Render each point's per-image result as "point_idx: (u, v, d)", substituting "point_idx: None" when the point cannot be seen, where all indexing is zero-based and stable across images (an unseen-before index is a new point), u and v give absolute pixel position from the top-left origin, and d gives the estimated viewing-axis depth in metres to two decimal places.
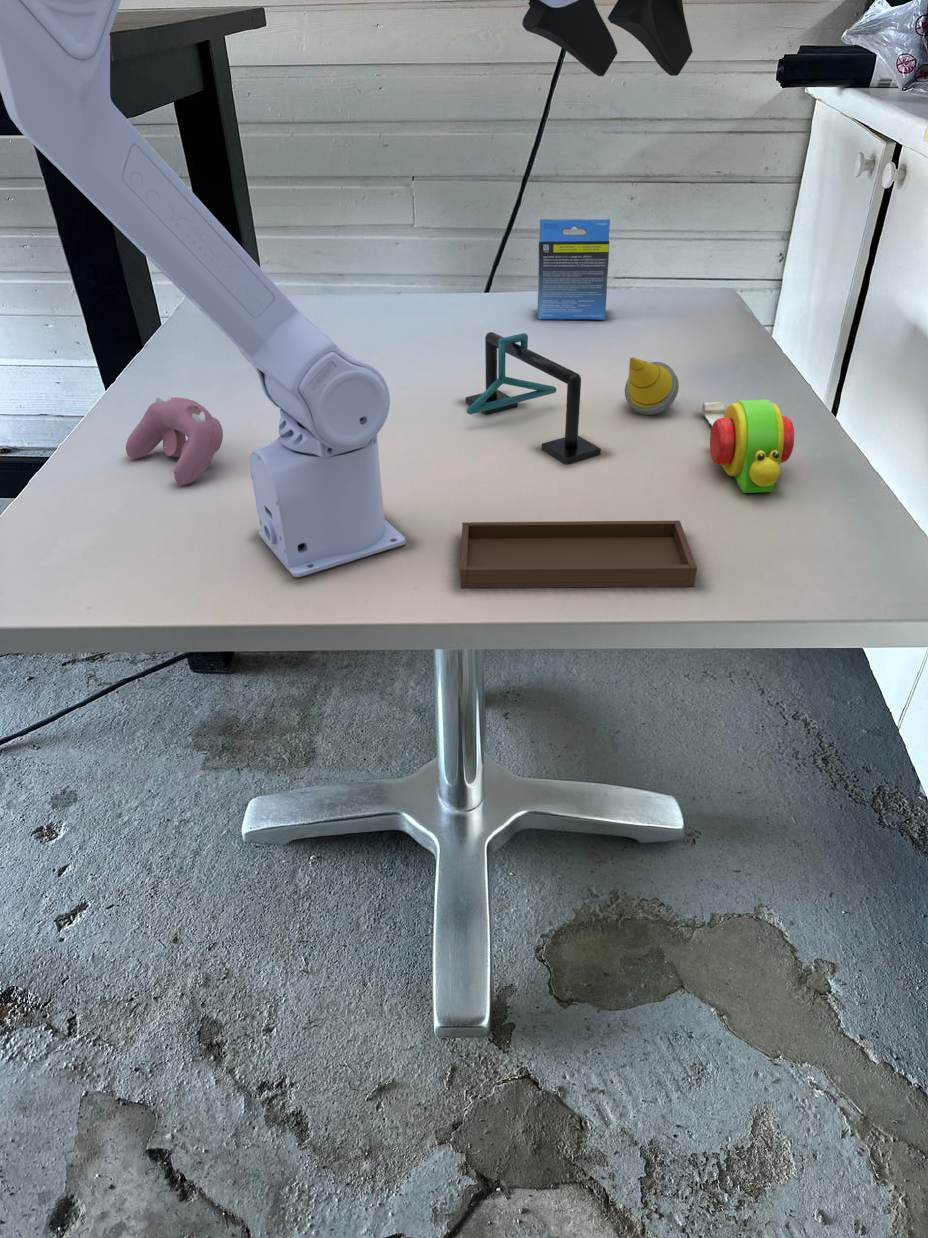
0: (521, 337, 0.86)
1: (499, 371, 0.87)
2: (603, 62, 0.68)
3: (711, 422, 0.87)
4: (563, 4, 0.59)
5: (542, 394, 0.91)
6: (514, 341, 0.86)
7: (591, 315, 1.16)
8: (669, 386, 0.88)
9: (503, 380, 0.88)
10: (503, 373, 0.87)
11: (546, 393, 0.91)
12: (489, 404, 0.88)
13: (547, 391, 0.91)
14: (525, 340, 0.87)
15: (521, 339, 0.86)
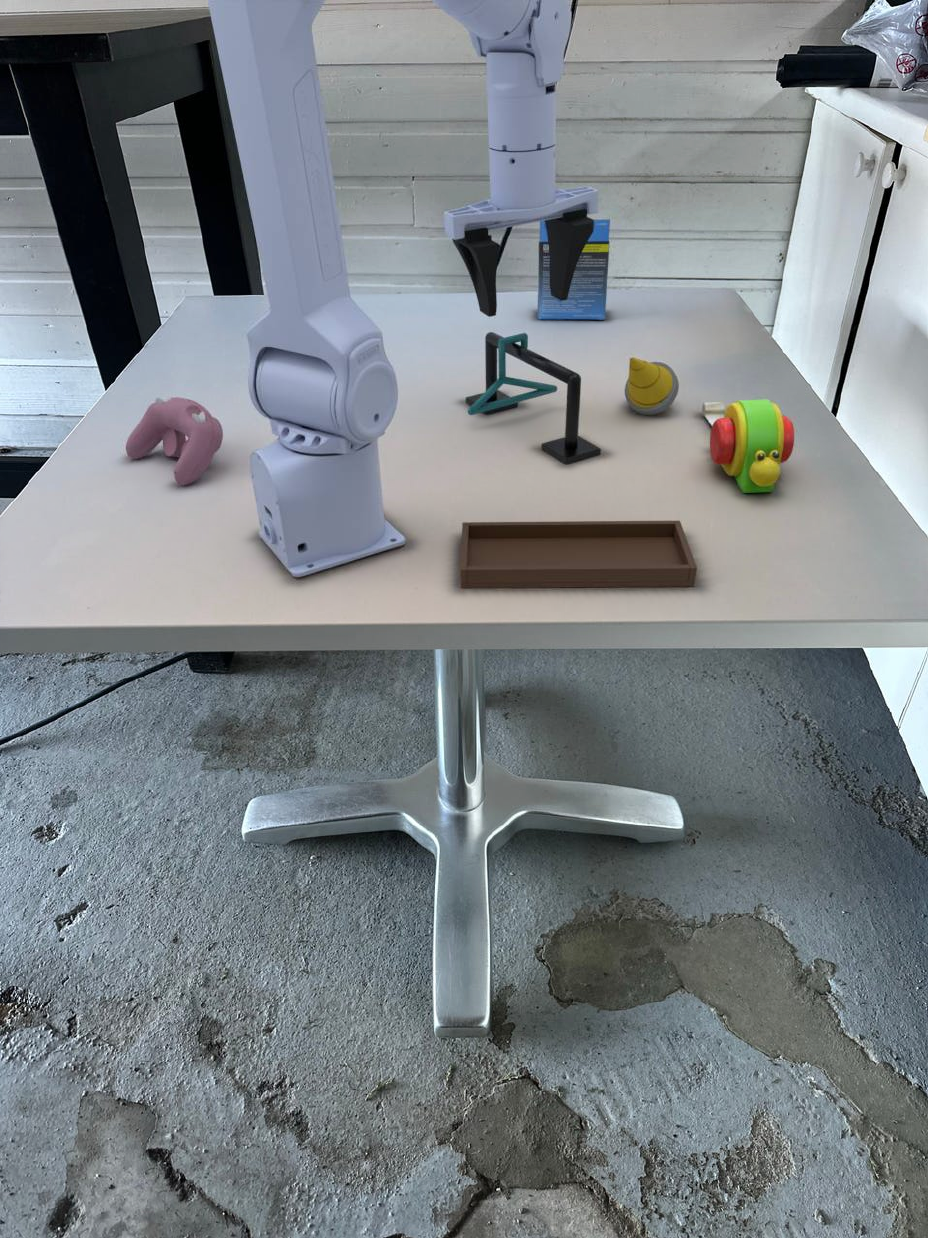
0: (521, 337, 0.86)
1: (499, 371, 0.87)
2: None
3: (711, 422, 0.87)
4: (546, 213, 0.77)
5: (543, 393, 0.91)
6: (514, 341, 0.86)
7: (591, 315, 1.16)
8: (669, 386, 0.88)
9: (504, 380, 0.88)
10: (503, 373, 0.87)
11: (547, 392, 0.91)
12: (490, 404, 0.88)
13: (548, 390, 0.91)
14: (525, 340, 0.87)
15: (521, 339, 0.86)
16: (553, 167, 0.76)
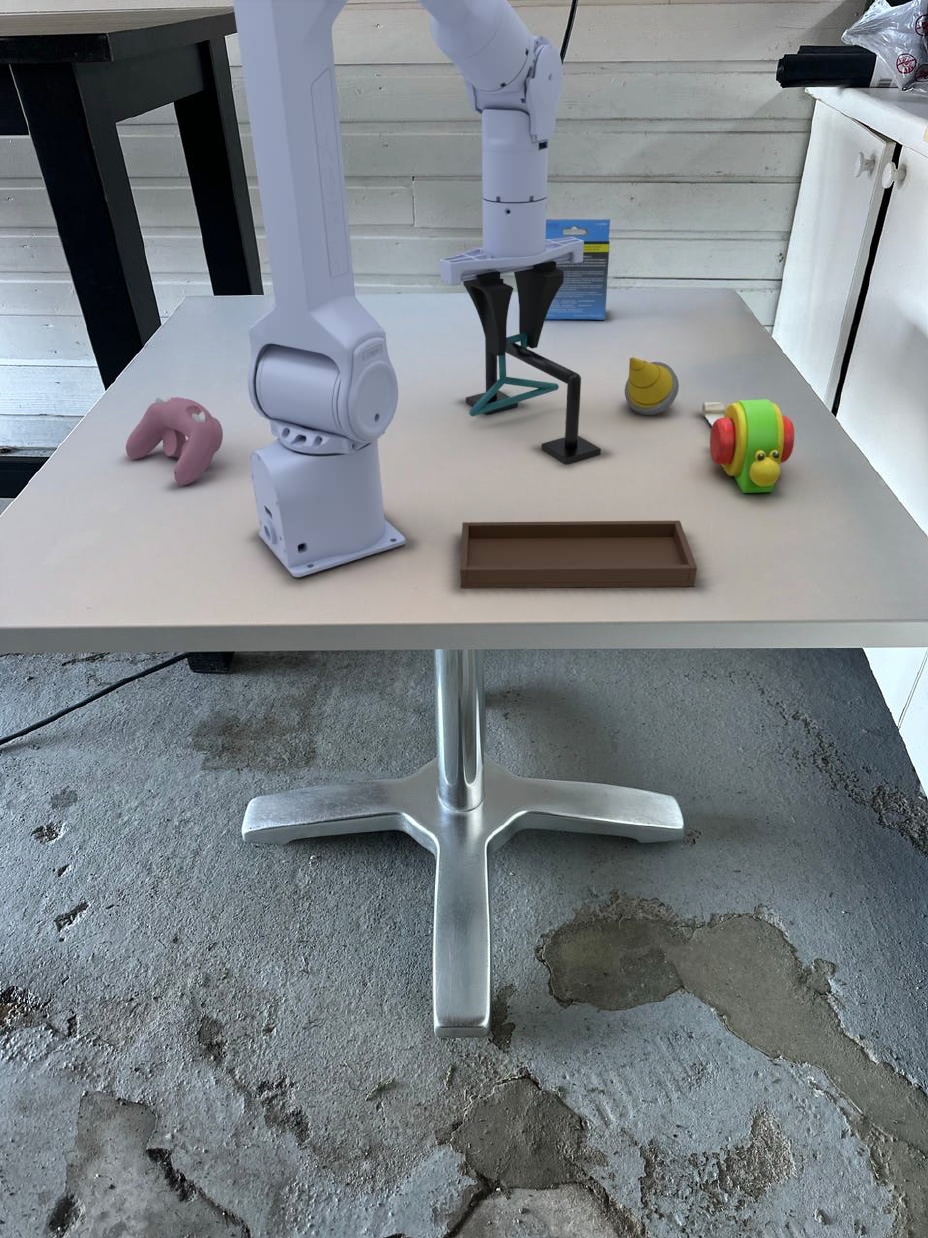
0: (521, 337, 0.86)
1: (500, 372, 0.87)
2: None
3: (711, 422, 0.87)
4: (538, 261, 0.80)
5: (544, 392, 0.91)
6: (514, 341, 0.86)
7: (591, 315, 1.16)
8: (669, 386, 0.88)
9: (504, 380, 0.88)
10: (504, 373, 0.87)
11: (548, 391, 0.91)
12: (491, 405, 0.89)
13: (549, 389, 0.91)
14: (525, 339, 0.87)
15: (521, 339, 0.86)
16: (545, 218, 0.79)
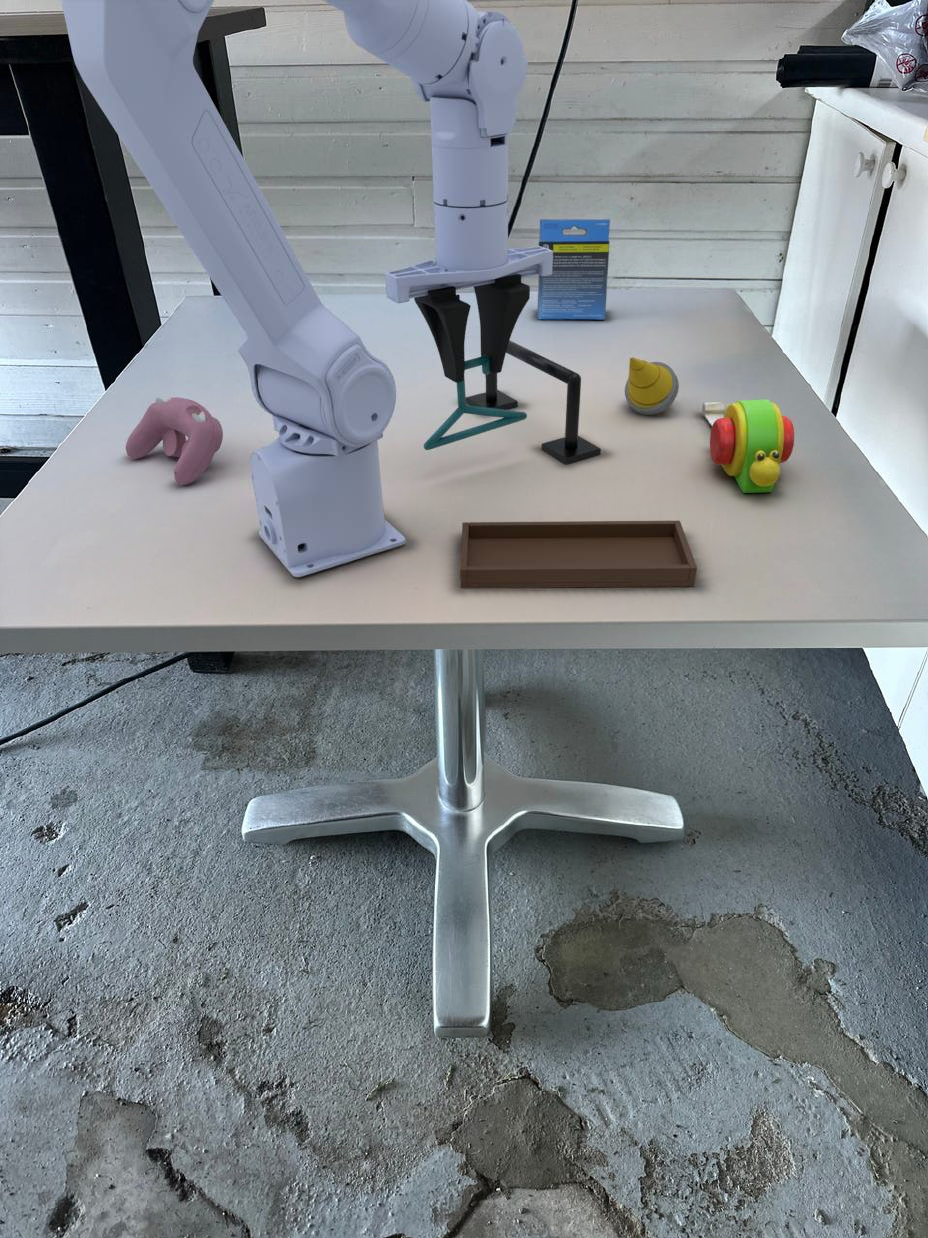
0: (482, 360, 0.75)
1: (459, 400, 0.76)
2: None
3: (711, 422, 0.87)
4: (499, 275, 0.69)
5: (510, 422, 0.80)
6: (474, 365, 0.75)
7: (591, 315, 1.16)
8: (669, 386, 0.88)
9: (464, 410, 0.77)
10: (463, 402, 0.76)
11: (515, 420, 0.80)
12: (449, 437, 0.78)
13: (516, 418, 0.80)
14: (487, 363, 0.76)
15: (482, 363, 0.75)
16: (506, 225, 0.68)
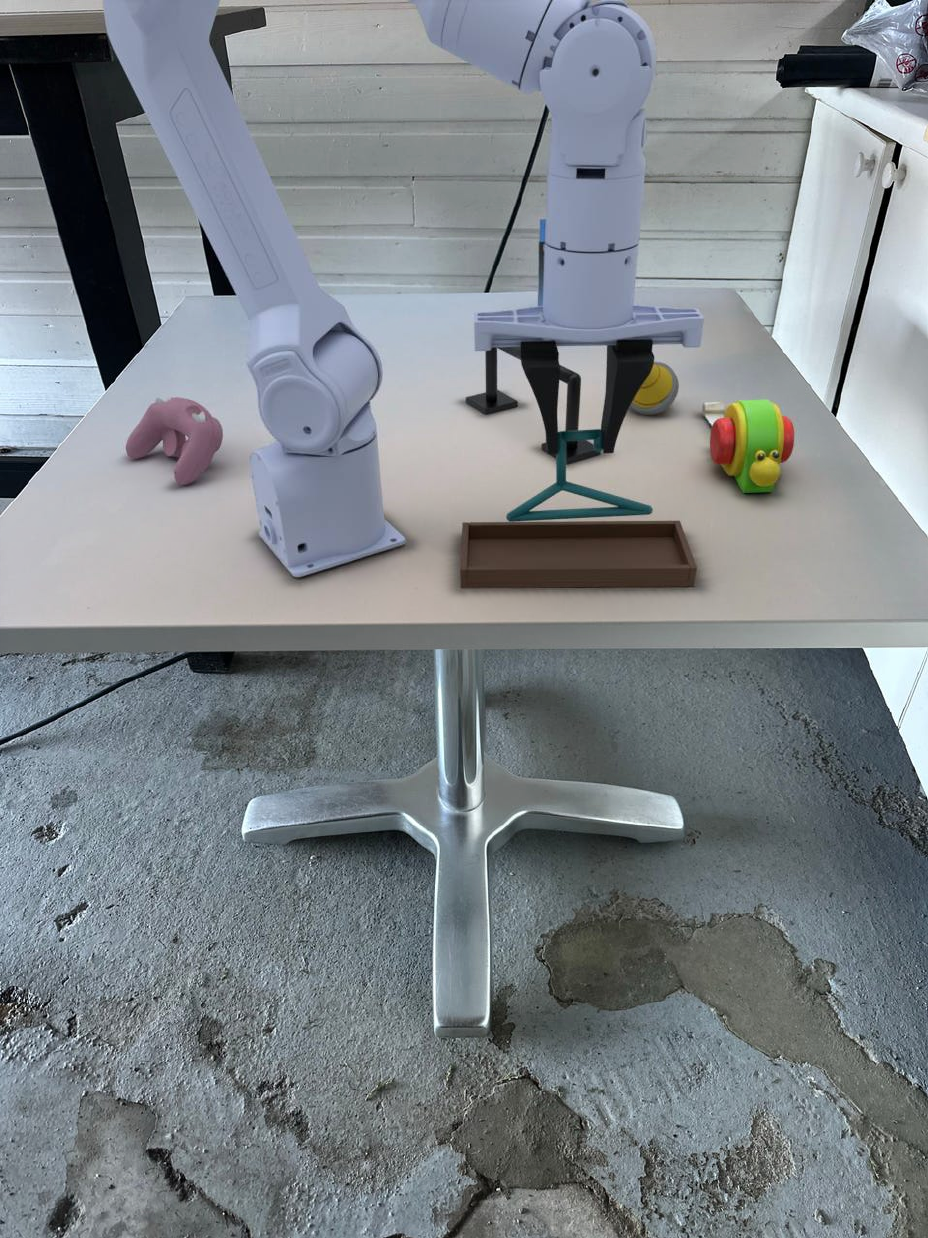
0: (591, 434, 0.61)
1: (556, 474, 0.63)
2: None
3: (711, 422, 0.87)
4: (602, 338, 0.55)
5: (626, 513, 0.65)
6: (579, 438, 0.62)
7: None
8: (669, 386, 0.88)
9: (561, 486, 0.64)
10: (561, 477, 0.63)
11: (633, 513, 0.65)
12: (539, 513, 0.65)
13: (635, 511, 0.65)
14: (598, 439, 0.62)
15: (591, 437, 0.62)
16: (624, 278, 0.54)
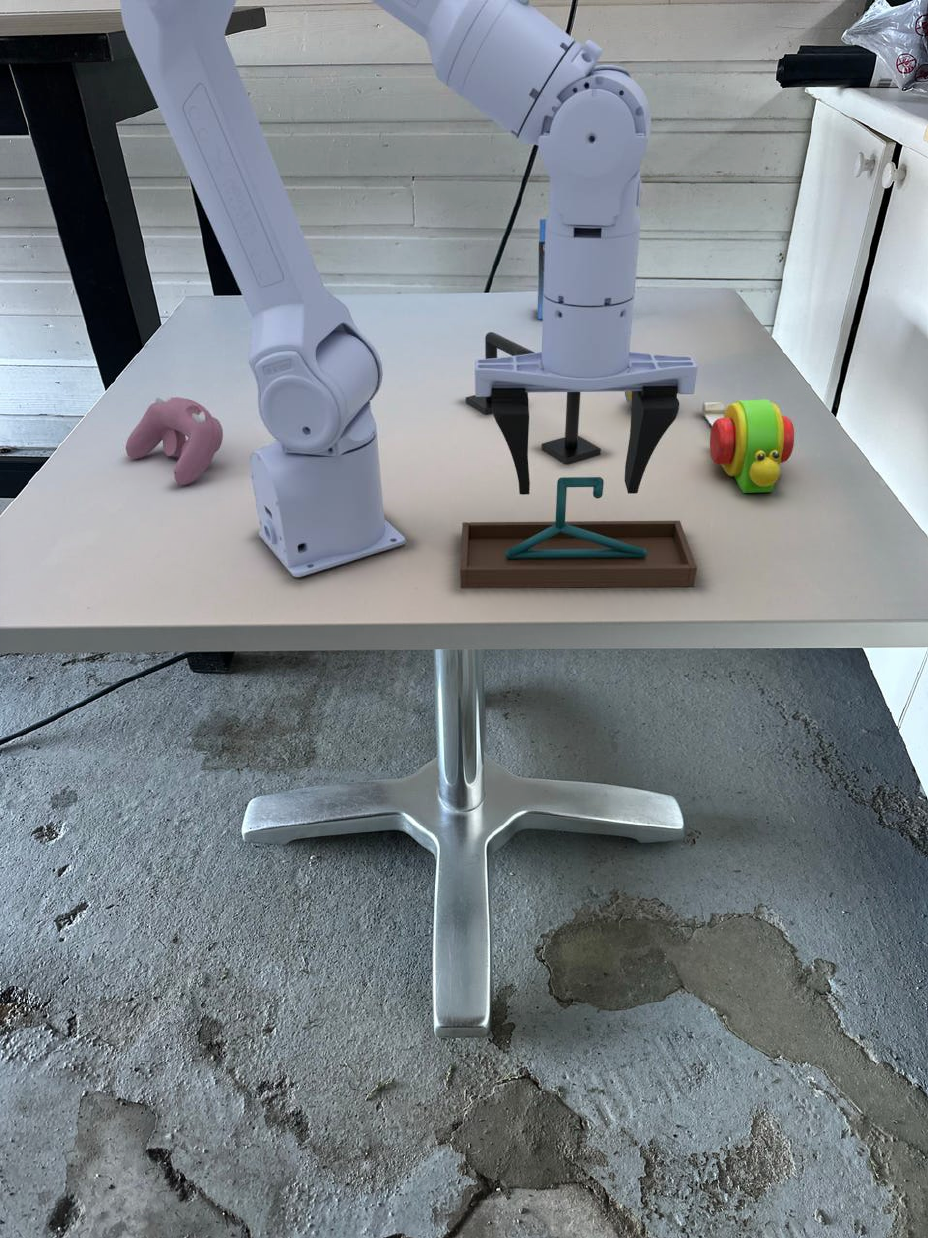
0: (591, 482, 0.63)
1: (556, 517, 0.65)
2: None
3: (711, 422, 0.87)
4: (598, 387, 0.57)
5: (621, 556, 0.67)
6: (580, 485, 0.63)
7: None
8: None
9: (560, 529, 0.66)
10: (560, 521, 0.65)
11: (628, 556, 0.67)
12: (537, 552, 0.67)
13: (630, 554, 0.67)
14: (597, 487, 0.63)
15: (591, 485, 0.63)
16: (620, 330, 0.55)
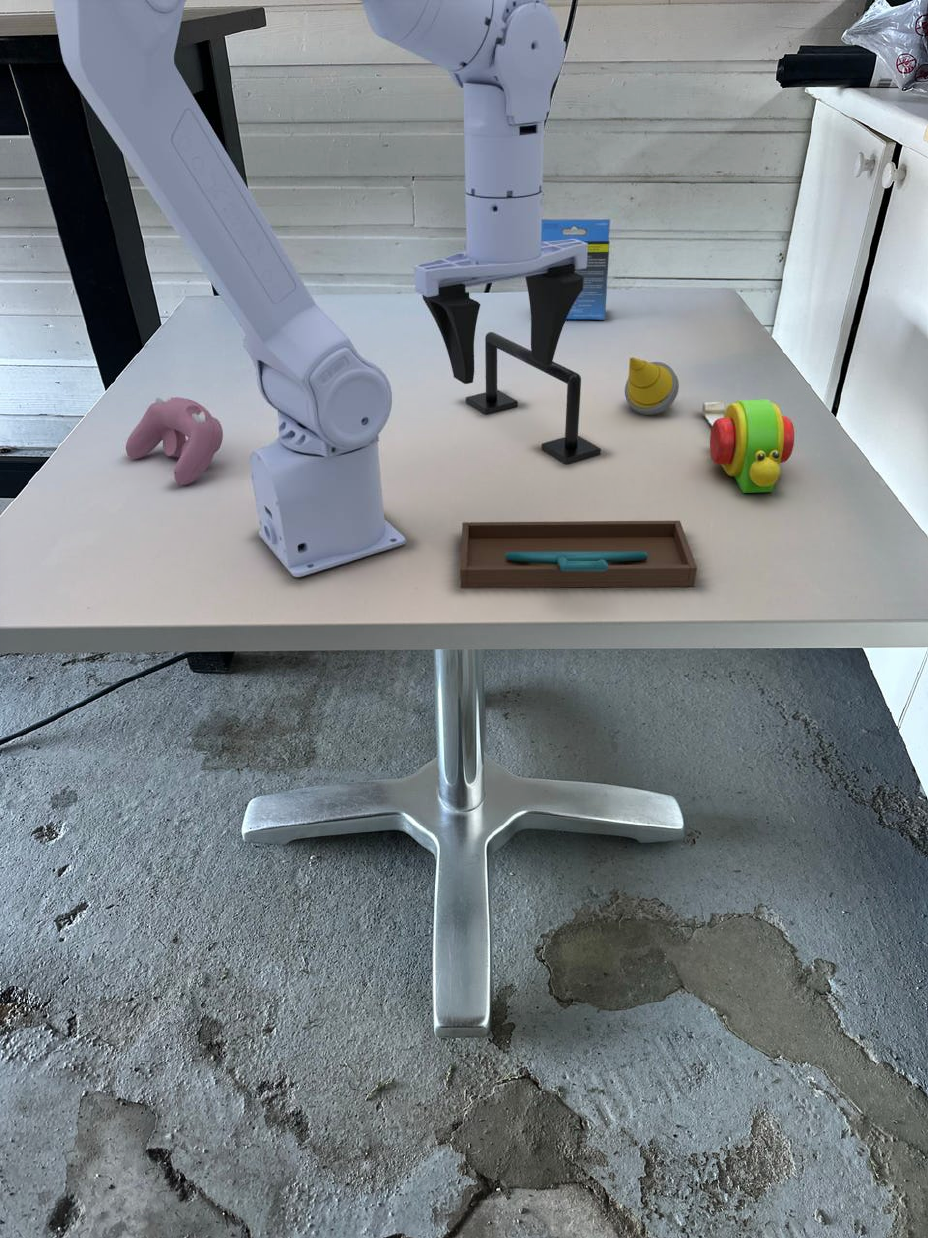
0: (595, 570, 0.61)
1: (557, 562, 0.64)
2: None
3: (711, 422, 0.87)
4: (532, 268, 0.67)
5: None
6: (583, 570, 0.61)
7: (591, 315, 1.16)
8: (669, 386, 0.88)
9: None
10: None
11: None
12: None
13: None
14: None
15: (594, 570, 0.61)
16: (540, 216, 0.66)
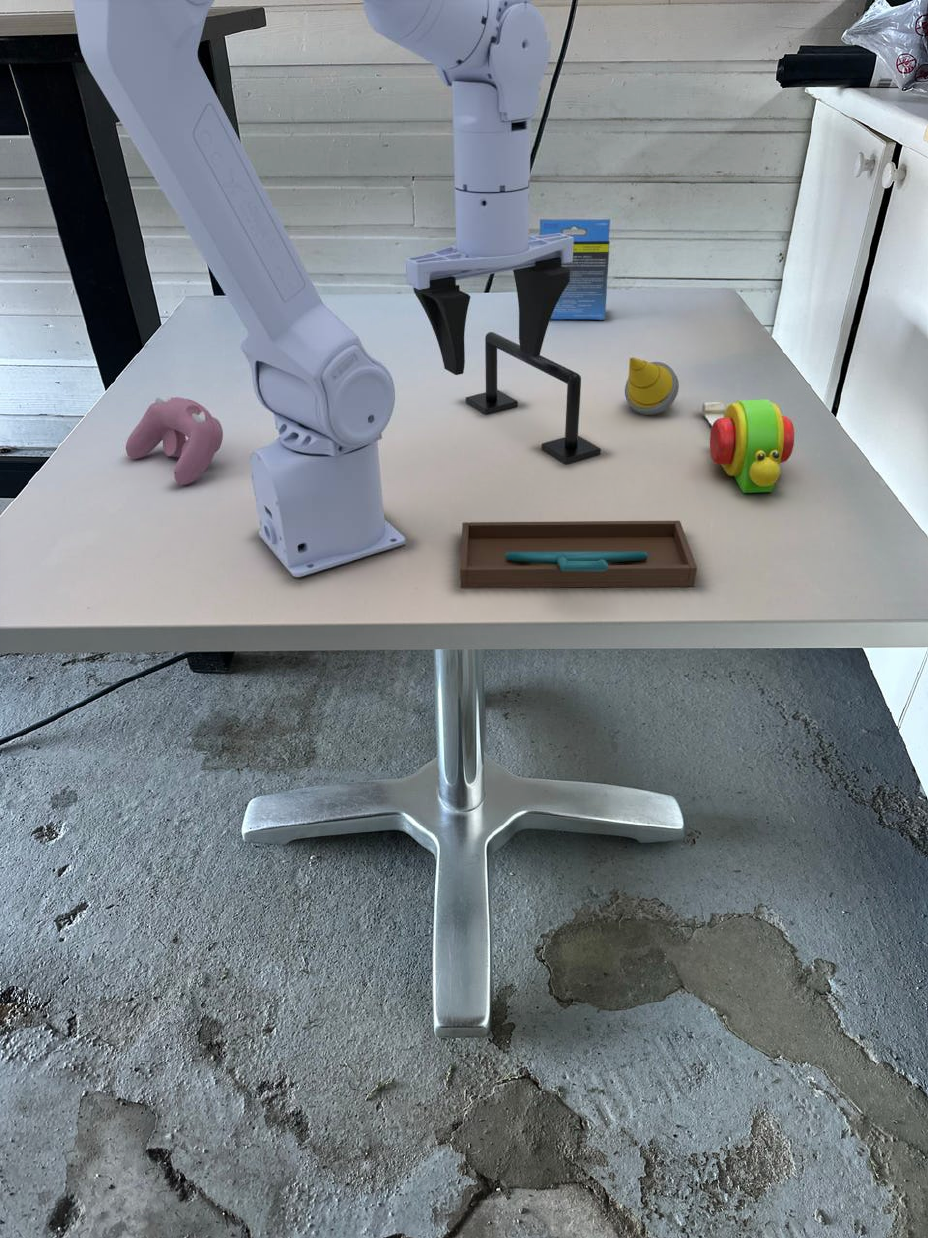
0: (595, 570, 0.61)
1: (557, 562, 0.64)
2: None
3: (711, 422, 0.87)
4: (520, 261, 0.69)
5: None
6: (583, 570, 0.61)
7: (591, 315, 1.16)
8: (669, 386, 0.88)
9: None
10: None
11: None
12: None
13: None
14: None
15: (594, 570, 0.61)
16: (527, 211, 0.68)
